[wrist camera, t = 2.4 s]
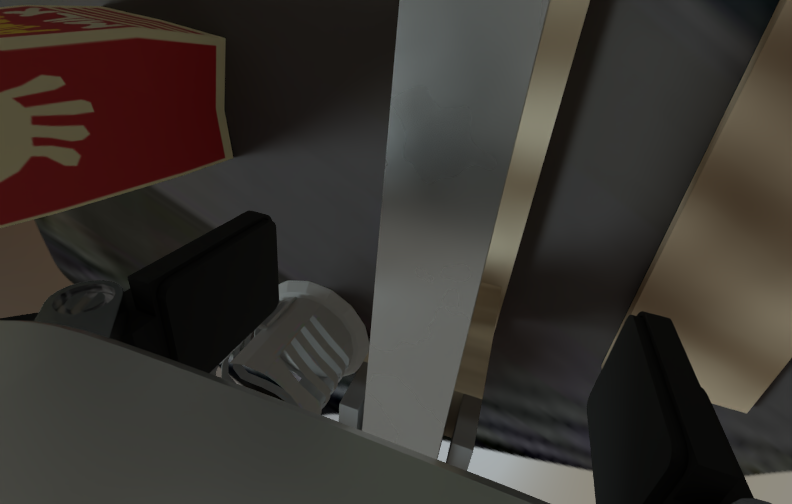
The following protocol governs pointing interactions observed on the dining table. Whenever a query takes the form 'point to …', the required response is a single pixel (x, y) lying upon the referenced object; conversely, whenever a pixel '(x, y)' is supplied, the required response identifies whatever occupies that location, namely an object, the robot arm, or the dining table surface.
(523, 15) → the rail
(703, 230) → the wooden board
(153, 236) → the dining table surface
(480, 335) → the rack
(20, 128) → the milk carton
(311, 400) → the french press
